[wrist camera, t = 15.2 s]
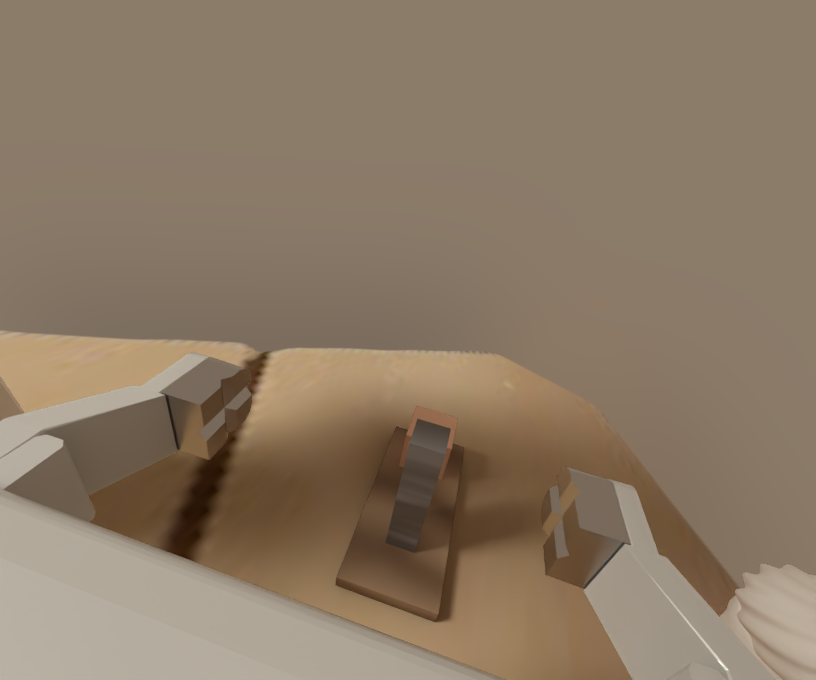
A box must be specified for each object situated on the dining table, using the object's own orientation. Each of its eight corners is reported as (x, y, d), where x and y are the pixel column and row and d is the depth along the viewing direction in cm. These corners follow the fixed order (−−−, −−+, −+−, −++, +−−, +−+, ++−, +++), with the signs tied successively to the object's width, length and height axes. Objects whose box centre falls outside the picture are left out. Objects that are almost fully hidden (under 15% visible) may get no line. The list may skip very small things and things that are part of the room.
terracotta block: (441, 479, 37) (451, 449, 35) (398, 466, 38) (406, 435, 36) (448, 447, 41) (457, 417, 39) (409, 435, 42) (416, 405, 39)
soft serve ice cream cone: (694, 798, 22) (933, 715, 14) (626, 633, 29) (757, 512, 21) (818, 805, 23) (1118, 729, 15) (722, 641, 30) (887, 527, 22)
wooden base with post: (435, 621, 28) (482, 517, 21) (335, 585, 29) (349, 474, 22) (461, 454, 42) (495, 360, 35) (394, 433, 43) (414, 338, 36)
